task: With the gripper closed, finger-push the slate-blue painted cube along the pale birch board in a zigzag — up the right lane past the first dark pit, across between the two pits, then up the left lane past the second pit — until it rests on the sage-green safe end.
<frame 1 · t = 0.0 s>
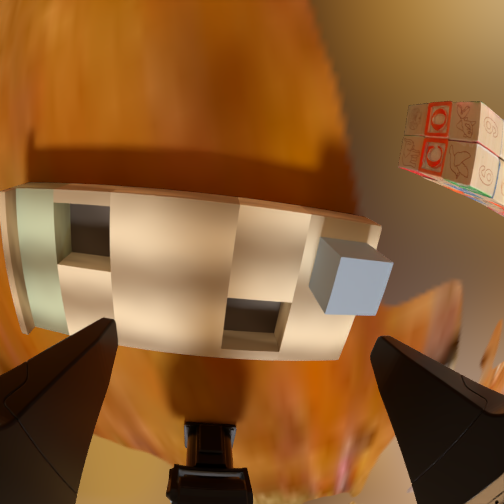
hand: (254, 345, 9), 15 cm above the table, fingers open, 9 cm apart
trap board: (179, 269, 23), on the table
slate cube: (338, 264, 21), point 3 cm above the table, touching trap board
stack of blocks: (470, 170, 23), on the table
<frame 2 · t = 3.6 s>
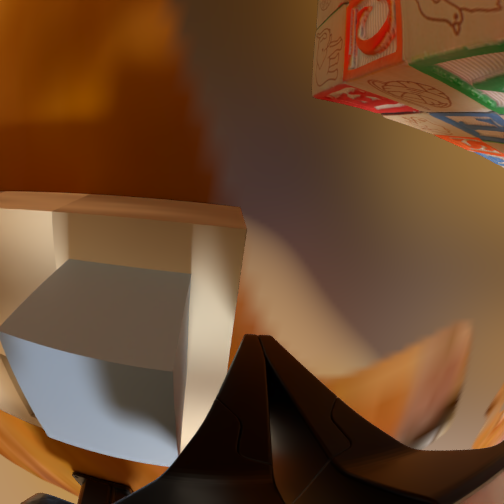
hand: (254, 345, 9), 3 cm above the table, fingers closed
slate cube: (128, 322, 9), point 3 cm above the table, touching gripper, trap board
stack of blocks: (484, 108, 10), on the table
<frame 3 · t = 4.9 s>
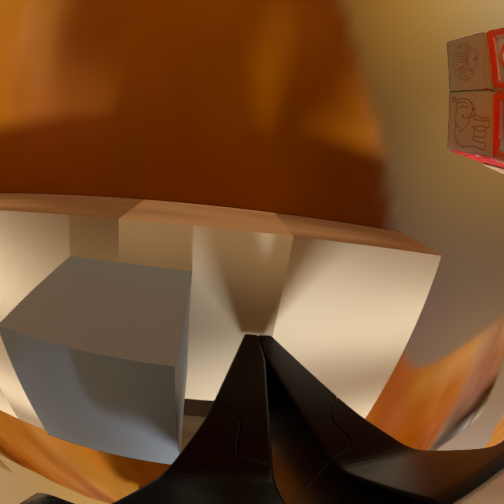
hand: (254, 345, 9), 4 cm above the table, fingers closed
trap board: (72, 326, 12), on the table
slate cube: (129, 319, 9), point 3 cm above the table, touching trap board
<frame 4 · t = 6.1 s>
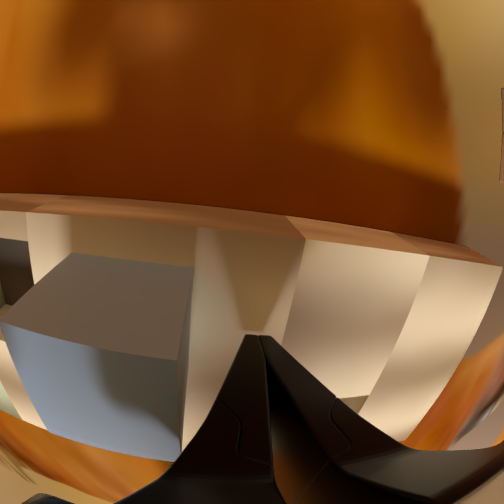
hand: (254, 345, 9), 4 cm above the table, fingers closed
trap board: (174, 342, 13), on the table
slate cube: (130, 316, 9), point 3 cm above the table, touching gripper
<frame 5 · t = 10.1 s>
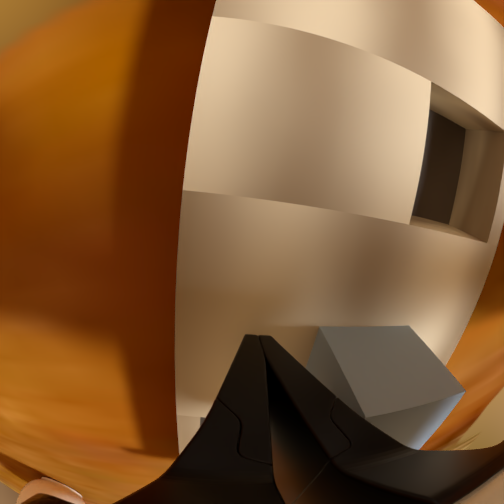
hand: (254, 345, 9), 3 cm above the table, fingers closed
lidded jar: (61, 486, 20), on the table
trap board: (335, 291, 12), on the table
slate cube: (351, 367, 10), point 3 cm above the table, touching gripper, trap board
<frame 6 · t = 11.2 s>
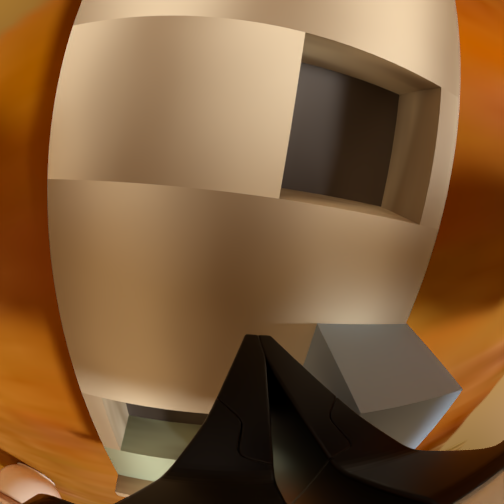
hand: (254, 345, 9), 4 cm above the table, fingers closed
lidded jar: (36, 473, 20), on the table
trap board: (236, 280, 12), on the table
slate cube: (349, 365, 10), point 3 cm above the table, touching gripper
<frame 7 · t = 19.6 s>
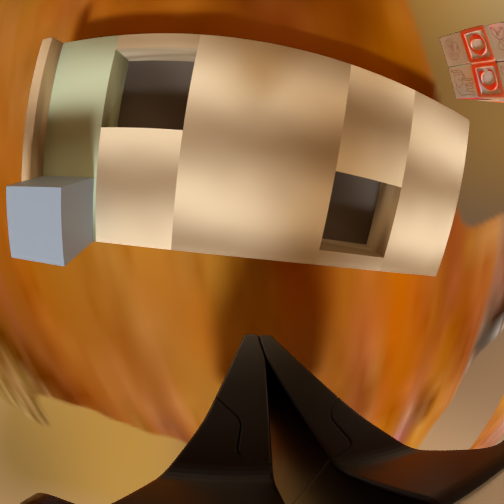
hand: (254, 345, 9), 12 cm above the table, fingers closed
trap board: (263, 149, 18), on the table
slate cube: (66, 207, 15), point 3 cm above the table, touching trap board
stack of blocks: (501, 77, 17), on the table
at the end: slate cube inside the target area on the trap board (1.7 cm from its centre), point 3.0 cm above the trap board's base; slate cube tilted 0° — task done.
